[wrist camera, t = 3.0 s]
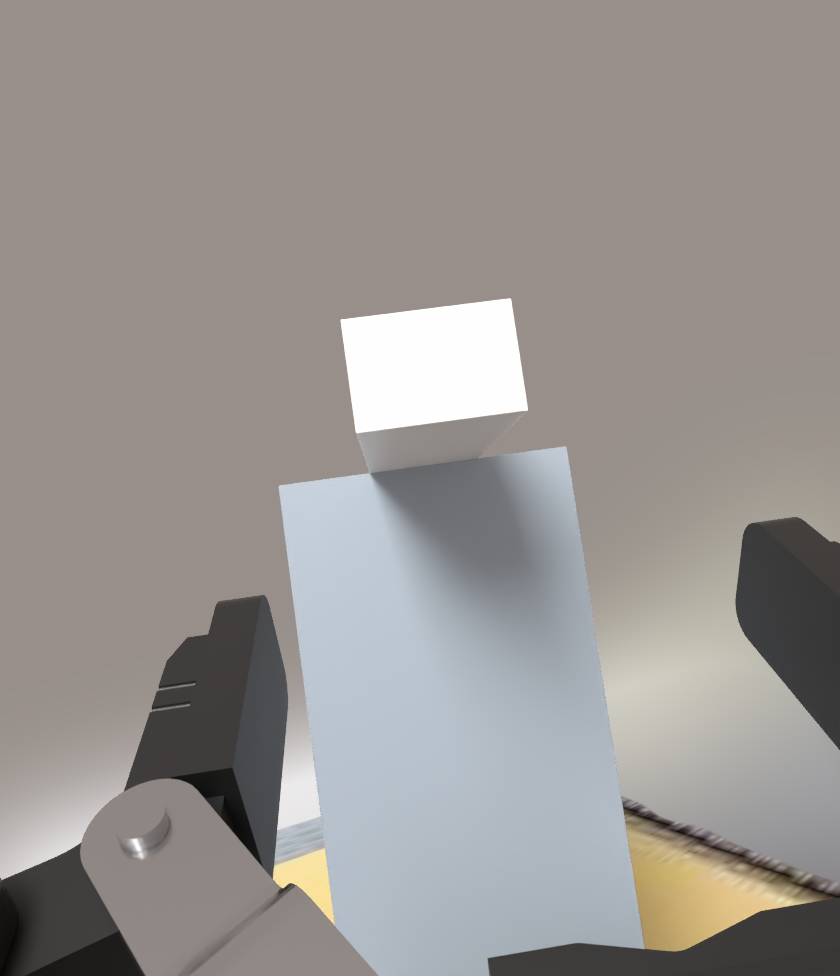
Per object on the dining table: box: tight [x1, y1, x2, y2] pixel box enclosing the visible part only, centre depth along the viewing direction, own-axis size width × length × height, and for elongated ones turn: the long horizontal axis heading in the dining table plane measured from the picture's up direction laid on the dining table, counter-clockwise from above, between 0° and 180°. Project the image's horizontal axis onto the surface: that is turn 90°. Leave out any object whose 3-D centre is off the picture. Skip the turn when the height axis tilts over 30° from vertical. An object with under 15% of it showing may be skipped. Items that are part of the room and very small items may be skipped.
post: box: [279, 447, 645, 976], centre depth 36 cm, size 17×13×32 cm
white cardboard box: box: [341, 299, 528, 473], centre depth 32 cm, size 26×4×6 cm, turn 2°
